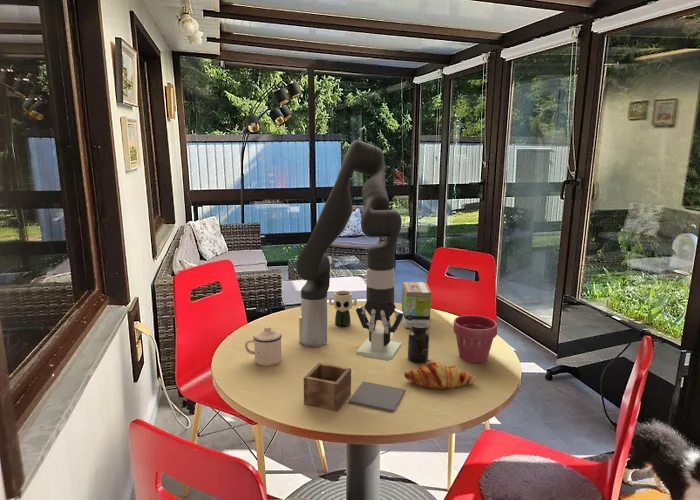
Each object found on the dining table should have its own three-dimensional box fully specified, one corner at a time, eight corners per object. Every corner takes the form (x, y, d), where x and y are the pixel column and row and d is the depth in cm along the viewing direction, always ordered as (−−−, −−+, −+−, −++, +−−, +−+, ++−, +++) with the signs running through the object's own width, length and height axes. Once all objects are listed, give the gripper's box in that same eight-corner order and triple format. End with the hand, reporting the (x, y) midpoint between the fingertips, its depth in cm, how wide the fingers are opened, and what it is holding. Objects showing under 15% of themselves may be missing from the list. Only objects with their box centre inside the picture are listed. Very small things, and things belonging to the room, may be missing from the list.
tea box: (430, 328, 187) (432, 292, 184) (404, 328, 188) (405, 292, 184) (425, 315, 202) (426, 281, 199) (401, 315, 202) (402, 281, 199)
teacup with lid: (283, 354, 163) (282, 321, 161) (280, 366, 155) (280, 332, 152) (247, 354, 163) (246, 322, 160) (243, 366, 154) (241, 332, 152)
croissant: (472, 390, 148) (471, 363, 150) (480, 390, 138) (479, 362, 140) (402, 387, 148) (403, 360, 150) (406, 387, 138) (406, 359, 140)
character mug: (328, 327, 188) (328, 295, 185) (329, 320, 195) (329, 290, 192) (356, 328, 187) (356, 296, 185) (356, 321, 194) (357, 290, 192)
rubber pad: (348, 402, 133) (348, 400, 133) (362, 383, 144) (363, 381, 144) (393, 412, 129) (394, 409, 128) (405, 391, 140) (405, 389, 139)
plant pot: (451, 347, 170) (453, 312, 167) (492, 350, 168) (495, 315, 165) (452, 365, 156) (454, 327, 154) (496, 369, 154) (499, 331, 151)
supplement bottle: (427, 364, 157) (429, 329, 154) (406, 362, 158) (407, 328, 155) (428, 355, 163) (430, 322, 161) (408, 353, 165) (409, 320, 162)
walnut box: (303, 404, 132) (303, 377, 130) (319, 387, 141) (318, 362, 139) (337, 411, 128) (337, 384, 127) (350, 394, 138) (351, 368, 136)
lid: (356, 358, 131) (356, 333, 129) (368, 344, 140) (368, 321, 138) (391, 363, 127) (392, 339, 126) (401, 349, 137) (402, 325, 135)
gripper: (351, 285, 128) (351, 345, 132) (402, 290, 124) (400, 353, 127) (360, 278, 135) (360, 335, 139) (409, 282, 130) (407, 342, 134)
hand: (379, 343), depth 133 cm, fingers closed on lid, 3 cm apart
